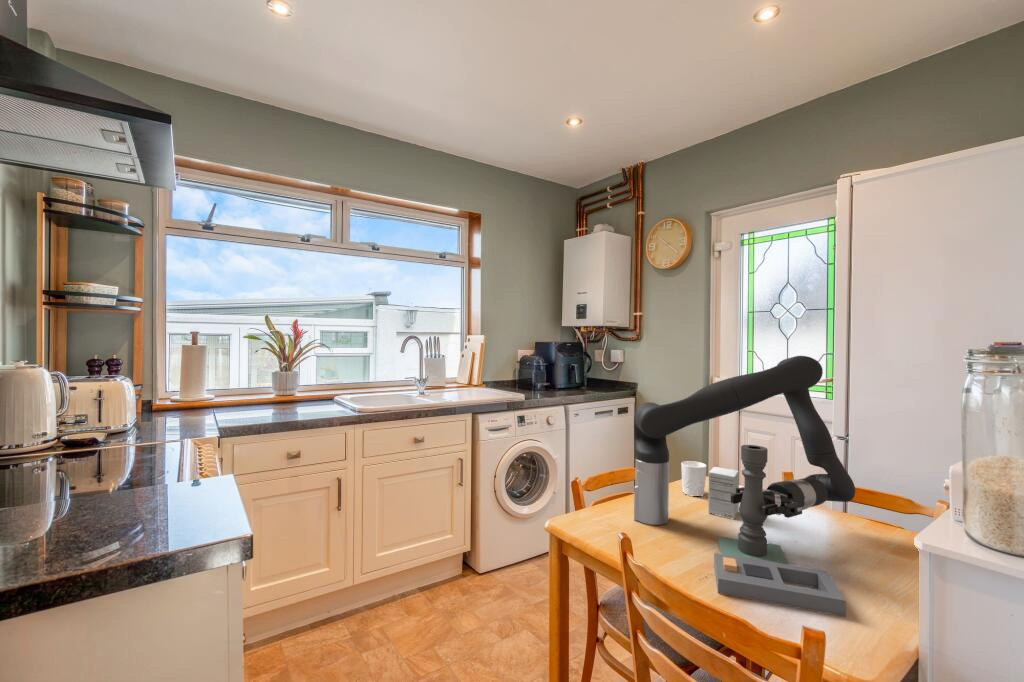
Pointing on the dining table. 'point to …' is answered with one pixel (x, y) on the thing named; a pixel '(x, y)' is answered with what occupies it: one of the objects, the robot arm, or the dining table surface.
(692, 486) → the white cup
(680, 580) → the dining table surface
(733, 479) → the supplement box
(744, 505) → the candle holder
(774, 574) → the grey compartment tray
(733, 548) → the mat
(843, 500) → the robot arm
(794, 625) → the dining table surface
